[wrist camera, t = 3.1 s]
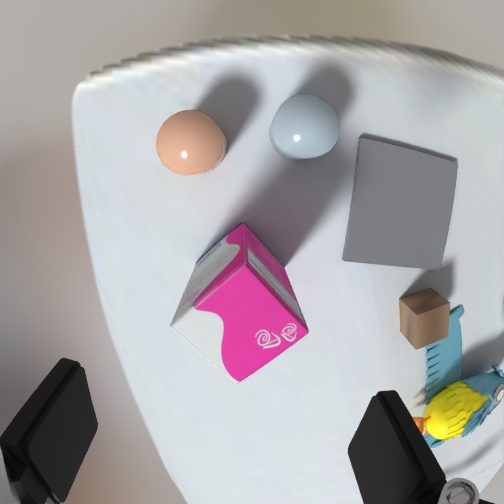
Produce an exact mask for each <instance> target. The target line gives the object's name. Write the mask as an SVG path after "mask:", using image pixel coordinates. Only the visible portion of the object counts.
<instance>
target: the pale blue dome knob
mask: <svg viewBox="0 0 504 504" xmlns="http://www.w3.org/2000/svg"><path fill="white" fill-rule="evenodd" d="M339 133H340V122H339V118H338V116H337V113H336V112H335V110H334V109H333V107H332V106H331V105H330V104H329V103H328V102H327V101H325V100H324V99H322V98H320V97H318V96H315V95H311V94H299V95H295V96H293V97H290V98H289V99H287V100H286V101H285V102H283V104H282V105H281V106H280V107H279V109H278V111H277V113H276V115H275V117H274V118H273V120H272V123H271V125H270V139H271V142H272V144H273V146H274V148H275V149H276V150H277V151H278V152H279V153H280V154H281V155H283V156H285V157H287V158H290V159H295V160H300V159H307V158H314V157H318V156H321V155H323V154H325V153H327V152H328V151H330V150H331V149H332V148H333V146H334V145H335V144H336V142H337V140H338V137H339Z"/></svg>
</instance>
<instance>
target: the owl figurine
mask: <svg viewBox="0 0 504 504" xmlns="http://www.w3.org/2000/svg"><path fill="white" fill-rule="evenodd" d="M463 313H464V308H463V305H460V306H458V307H457V308H456V309H455V310H454V311H453V312H452V313H451V314H450V317H449V331H448V337H446V338H444V339H442V340H439V341H437V342H434V343H432V344H429V345H427V346H425V348H426V349H430V348H432V347H433V348H432V349H430V350H429V351H428V352H427V353H426V358H431V357H432V358H431V359H429V360H428V361H427V363H426V366H427V367H430V366H432V365H433V366H432V367H430V368H429V369H428V370H427V371H426V375H430V374H432V373H433V374H432V375H430V376H429V377H428V378H427V379H426V383H430V384H428V385H427V387H426V390H427V391H429V390H430V391H429V392H428V393H427V394H426V398H428V399H427V400H426V402H425V404H426V405H427V407H426V409H425V411H424V419H423V418H422V417H412V418H413V420H414V421H415V423H416V425H417V426H418V428H419V430H420V432H421V433H422V435H423V437H424V439H425V440H426V442H427V444H428V446H429V447H430V448H435V447H437V446H439V445H441V444H442V443H443V442H444V441H445V440H447V439H450V438H455V437H458V436H462V435H463V436H462V437H464V436H465V435H466V436H467V435H468V433H469V432H471V431H472V432H473V430H474V429H475V428H476V427H477V426H478V425H479V424H480V425H481V424H482V422H483V421H484V419H485V417H486V416H487V414H488V415H489V414H491V411H492V410H493V409H495V407H496V406H497V405H498V404H499V403H500V402H501V399H502V398H503V396H504V373H503V372H502V370H500V369H499V365H496V364H495V363H493V364H492V368H493V369H495V371H494V372H490V373H485V374H481V375H478V376H474V377H470V378H467V379H460V378H461V366H462V336H461V326H460V322H459V320H458V319H459V318H460V317H461V316H462V315H463ZM434 346H435V347H434ZM433 356H434V357H433ZM434 364H435V365H434ZM434 372H435V373H434ZM431 389H432V390H431ZM429 397H430V398H429ZM481 421H482V422H481ZM424 424H425V425H424ZM475 426H476V427H475ZM472 432H471V433H472ZM471 433H470V434H471ZM454 436H455V437H454ZM441 439H442V440H441ZM440 440H441V441H440Z"/></svg>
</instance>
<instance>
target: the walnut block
mask: <svg viewBox="0 0 504 504" xmlns="http://www.w3.org/2000/svg"><path fill="white" fill-rule="evenodd" d="M399 305H400V331H401V333H402V334H403V335H404V336H405V337H406V338H407V340H408V341H409V342H410V343H411V345H412V346H413V347H414V348H415V349H419V348H422V347H424V346H427V345H429V344H432V343H434V342H437V341H439V340H442V339H444V338H446V337H448V331H449V317H450V302H449V301H447V300H446V299H445V298H443V297H442V296H441V295H439V294H438V293H437V292H436V291H434V290H433V289H432V288H429V289H426V290H424V291H421V292H418V293H415V294H412V295H408V296H405V297H402V298H399Z"/></svg>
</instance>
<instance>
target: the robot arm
mask: <svg viewBox="0 0 504 504" xmlns="http://www.w3.org/2000/svg"><path fill="white" fill-rule="evenodd" d="M503 315H504V304H503ZM97 427H98V422H97V418H96V415H95V411H94V407H93V404H92V400H91V396H90V392H89V387H88V383H87V379H86V374H85V370H84V368H83V367H81V366H80V363H79V362H77V361H74V360H70V359H67V358H62V359H60V360H59V362H58V363H57V364H56V365H55V366H54V368H53V369H52V370H51V371H50V373H49V374H48V375H47V376H46V378H45V379H44V380H43V381H42V383H41V384H40V385H39V386H38V388H37V389H36V390H35V391H34V393H33V394H32V395H31V397H30V398H29V399H28V401H27V402H26V403H25V404H24V406H23V407H22V408H21V410H20V411H19V412H18V413H17V415H16V416H15V417H14V419H13V420H12V422H11V423H10V424H9V426H8V427H7V428H6V430H5V431H4V433H3V434H2V436H1V437H0V504H45V503H48V504H60V502H64V501H65V500H66V498H67V496H68V493H69V491H70V489H71V486H72V484H73V482H74V479H75V477H76V475H77V473H78V470H79V468H80V466H81V464H82V462H83V459H84V457H85V455H86V453H87V451H88V448H89V446H90V444H91V442H92V440H93V438H94V436H95V434H96V431H97ZM348 455H349V458H350V462H351V465H352V468H353V471H354V474H355V477H356V480H357V483H358V487H359V490H360V493H361V496H362V499H363V503H364V504H494V503H491V502H488V501H484V500H481V499H479V492H478V489H477V487H476V486H475V484H473V483H472V482H471V481H469V480H467V479H464V478H455V479H452V480H450V481H448V482H447V481H446V479H445V478H446V476H445V474H444V472H443V471H442V469H441V467H440V465H439V463H438V462H437V460H436V458H435V456H434V454H433V453H432V451H431V449H430V447H429V446H428V444H427V442H426V440H425V439H424V437H423V435H422V433H421V432H420V430H419V428H418V426H417V425H416V423H415V421H414V420H413V418H412V416H411V414H410V413H409V411H408V409H407V408H406V406H405V404H404V403H403V401H402V399H401V398H400V396H399V394H398V393H397V392H396V391H395V390H391V391H379V392H378V393H377V394H376V396H373V397H372V399H371V401H370V403H369V405H368V407H367V410H366V412H365V414H364V416H363V418H362V420H361V422H360V424H359V427H358V429H357V431H356V433H355V435H354V437H353V439H352V440H351V442H350V444H349V447H348Z"/></svg>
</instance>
